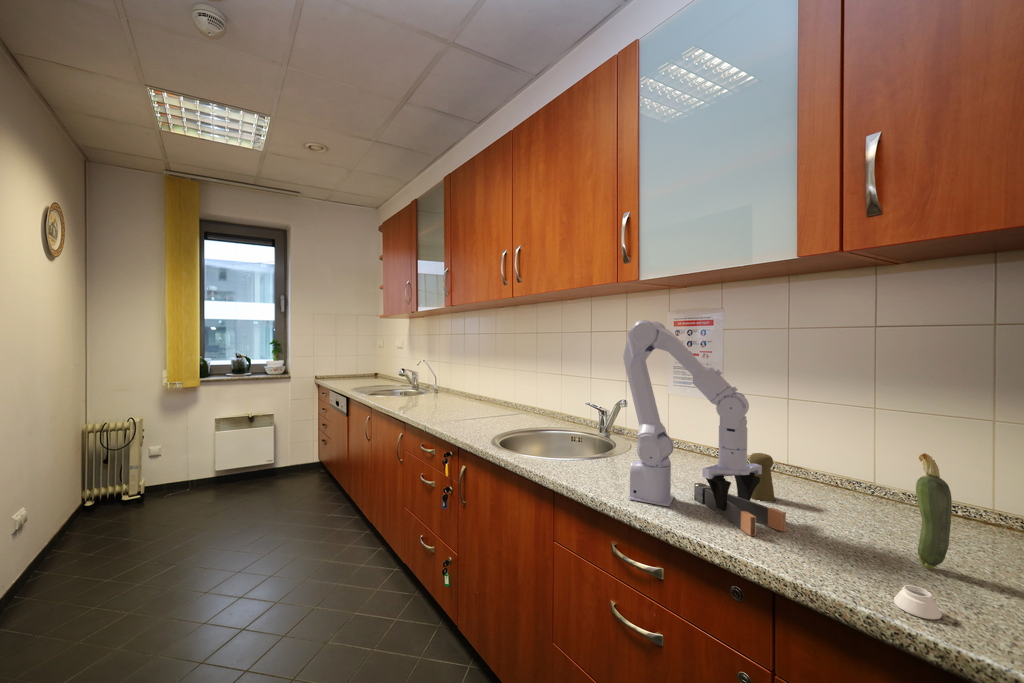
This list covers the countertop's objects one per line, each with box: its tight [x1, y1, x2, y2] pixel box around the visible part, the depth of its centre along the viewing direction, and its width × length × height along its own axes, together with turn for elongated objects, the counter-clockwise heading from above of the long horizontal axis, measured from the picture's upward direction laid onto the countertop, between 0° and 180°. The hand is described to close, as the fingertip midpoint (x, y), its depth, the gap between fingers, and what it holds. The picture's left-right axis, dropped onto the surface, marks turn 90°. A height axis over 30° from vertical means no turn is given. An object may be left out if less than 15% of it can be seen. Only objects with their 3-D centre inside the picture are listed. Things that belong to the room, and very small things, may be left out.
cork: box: [748, 452, 775, 502], centre depth 109 cm, size 6×6×11 cm
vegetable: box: [915, 452, 953, 570], centre depth 74 cm, size 4×4×20 cm
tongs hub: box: [693, 482, 711, 505], centre depth 106 cm, size 4×3×4 cm
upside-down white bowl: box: [893, 584, 943, 620], centre depth 63 cm, size 5×3×5 cm
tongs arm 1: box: [704, 489, 757, 536], centre depth 95 cm, size 17×1×4 cm, turn 6°
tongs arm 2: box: [711, 489, 787, 532], centre depth 97 cm, size 17×1×4 cm, turn 27°
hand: (732, 507), depth 97 cm, fingers open, 5 cm apart
